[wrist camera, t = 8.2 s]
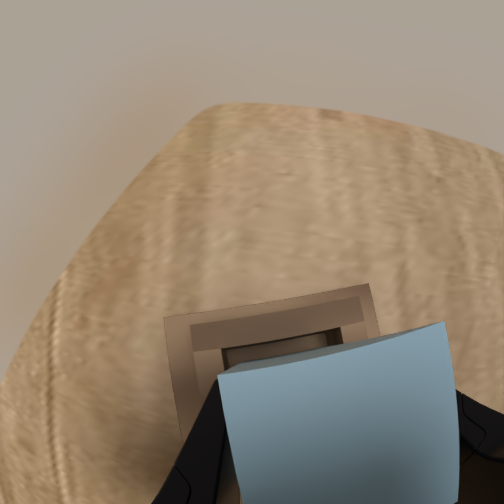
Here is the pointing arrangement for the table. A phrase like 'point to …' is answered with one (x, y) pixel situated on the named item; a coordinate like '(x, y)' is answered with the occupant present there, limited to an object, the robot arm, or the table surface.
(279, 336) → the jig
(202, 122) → the table surface
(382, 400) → the pale blue tower
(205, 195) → the table surface
